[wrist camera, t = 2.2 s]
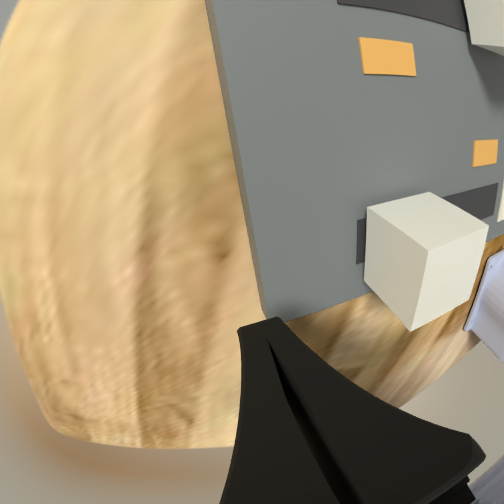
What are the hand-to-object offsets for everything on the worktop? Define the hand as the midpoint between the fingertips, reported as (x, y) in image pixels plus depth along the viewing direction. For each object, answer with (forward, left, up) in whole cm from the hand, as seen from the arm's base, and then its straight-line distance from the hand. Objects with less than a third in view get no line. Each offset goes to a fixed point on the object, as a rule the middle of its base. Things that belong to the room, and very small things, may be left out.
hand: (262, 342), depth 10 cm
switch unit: (+6, -12, -6) cm, 15 cm away
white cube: (0, -8, -4) cm, 9 cm away
